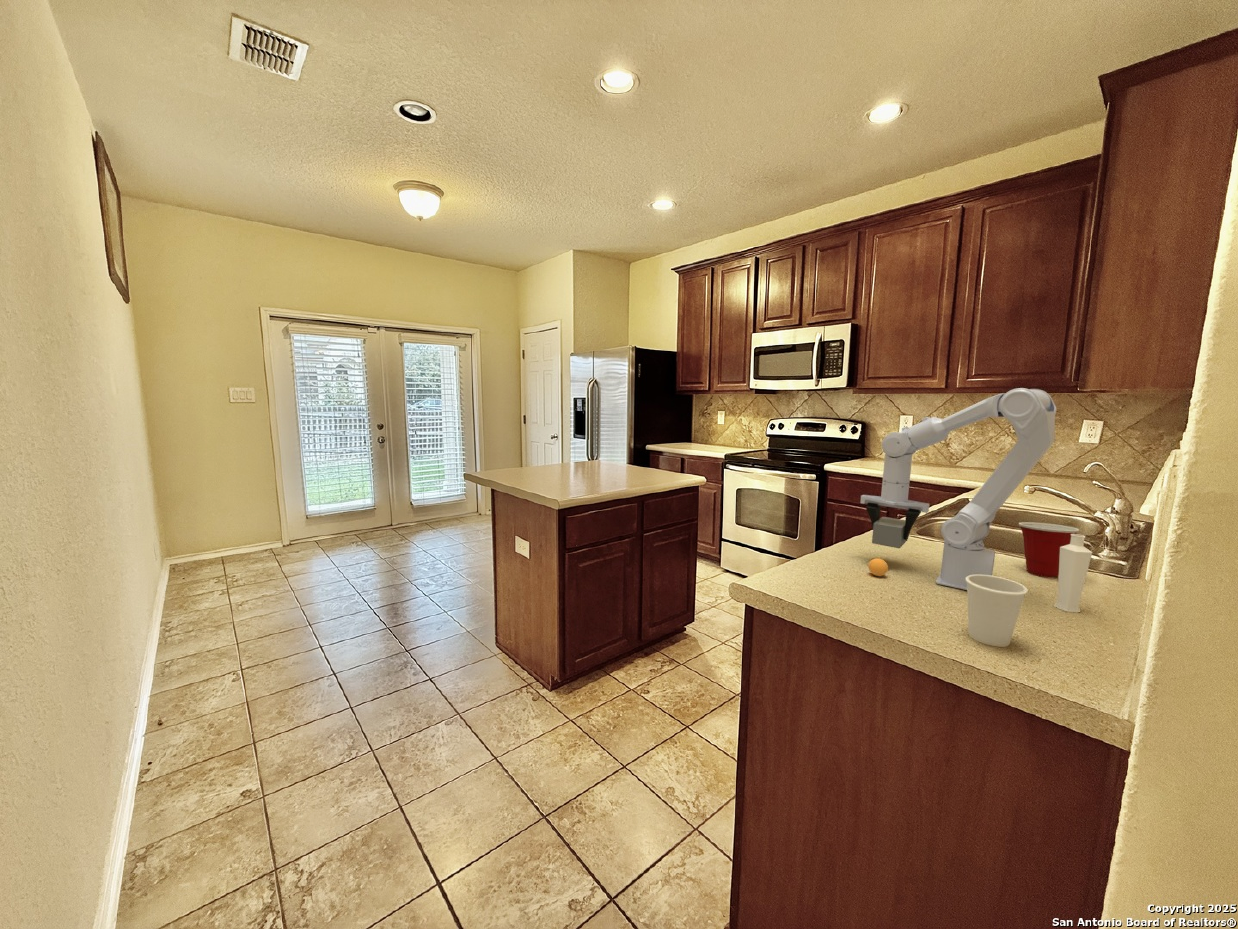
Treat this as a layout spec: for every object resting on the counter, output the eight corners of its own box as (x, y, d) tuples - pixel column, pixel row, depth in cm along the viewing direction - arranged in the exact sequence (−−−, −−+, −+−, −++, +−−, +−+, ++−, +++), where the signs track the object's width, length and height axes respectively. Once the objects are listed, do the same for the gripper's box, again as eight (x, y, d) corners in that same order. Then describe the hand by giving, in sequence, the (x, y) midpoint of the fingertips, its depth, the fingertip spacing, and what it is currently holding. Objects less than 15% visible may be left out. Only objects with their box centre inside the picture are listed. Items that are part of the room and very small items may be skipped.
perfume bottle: (1077, 615, 93) (1088, 540, 91) (1048, 606, 97) (1059, 534, 95) (1087, 611, 95) (1099, 537, 93) (1059, 602, 99) (1070, 531, 97)
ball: (888, 575, 113) (890, 558, 113) (884, 580, 110) (886, 563, 110) (870, 571, 116) (871, 554, 115) (865, 575, 113) (867, 559, 112)
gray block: (907, 540, 121) (909, 520, 121) (899, 548, 115) (901, 528, 114) (880, 535, 125) (882, 516, 125) (871, 543, 119) (873, 523, 118)
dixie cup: (1033, 648, 81) (1041, 590, 79) (991, 653, 79) (999, 594, 77) (985, 625, 89) (992, 572, 87) (947, 629, 87) (953, 575, 86)
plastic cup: (1048, 566, 121) (1055, 519, 119) (1085, 583, 110) (1093, 531, 109) (1001, 564, 122) (1007, 518, 120) (1033, 580, 111) (1040, 529, 110)
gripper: (859, 480, 120) (854, 533, 122) (927, 488, 110) (921, 545, 112) (866, 476, 125) (862, 528, 127) (933, 484, 116) (926, 539, 118)
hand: (890, 536), depth 120 cm, fingers closed on gray block, 6 cm apart
